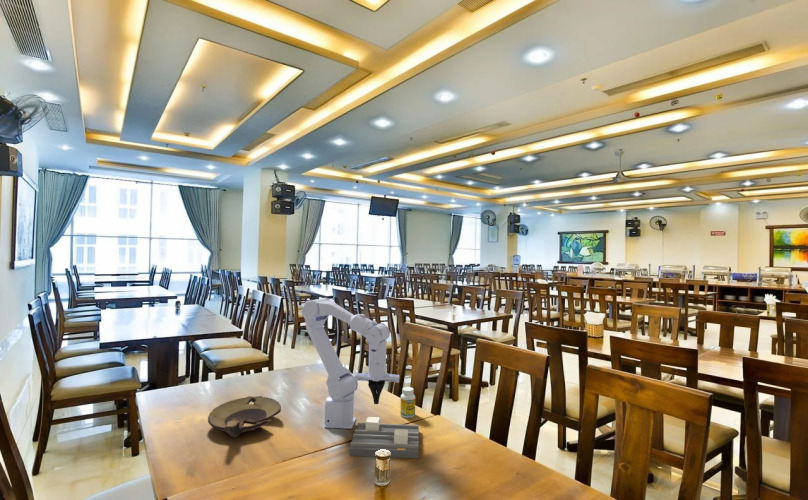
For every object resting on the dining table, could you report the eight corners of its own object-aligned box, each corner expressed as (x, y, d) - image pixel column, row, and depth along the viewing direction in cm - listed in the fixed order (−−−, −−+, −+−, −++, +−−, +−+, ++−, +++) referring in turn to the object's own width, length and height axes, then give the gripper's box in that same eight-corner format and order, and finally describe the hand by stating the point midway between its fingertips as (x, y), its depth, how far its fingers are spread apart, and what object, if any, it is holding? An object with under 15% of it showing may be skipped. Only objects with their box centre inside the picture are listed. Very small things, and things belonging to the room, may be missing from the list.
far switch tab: (365, 431, 125) (365, 422, 125) (367, 426, 129) (367, 416, 129) (378, 432, 125) (378, 422, 125) (379, 426, 129) (379, 417, 129)
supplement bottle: (409, 411, 147) (410, 385, 147) (417, 416, 143) (418, 389, 143) (397, 414, 144) (397, 387, 144) (405, 419, 140) (406, 392, 140)
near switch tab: (393, 445, 117) (394, 435, 117) (394, 438, 121) (394, 429, 121) (407, 446, 116) (407, 435, 116) (407, 439, 120) (408, 429, 120)
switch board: (349, 455, 115) (349, 445, 115) (358, 428, 132) (358, 420, 132) (418, 458, 114) (418, 448, 114) (418, 431, 131) (418, 422, 131)
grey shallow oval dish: (293, 414, 142) (294, 393, 142) (238, 455, 113) (239, 429, 113) (240, 406, 148) (240, 386, 148) (174, 444, 119) (175, 419, 119)
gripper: (353, 364, 126) (352, 407, 126) (398, 365, 126) (397, 408, 126) (356, 358, 133) (355, 398, 133) (399, 359, 133) (399, 400, 133)
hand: (376, 403), depth 130 cm, fingers closed
